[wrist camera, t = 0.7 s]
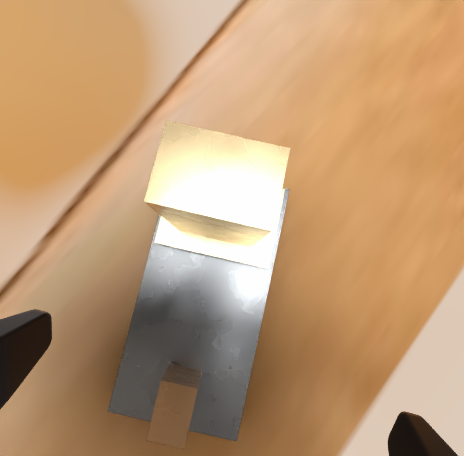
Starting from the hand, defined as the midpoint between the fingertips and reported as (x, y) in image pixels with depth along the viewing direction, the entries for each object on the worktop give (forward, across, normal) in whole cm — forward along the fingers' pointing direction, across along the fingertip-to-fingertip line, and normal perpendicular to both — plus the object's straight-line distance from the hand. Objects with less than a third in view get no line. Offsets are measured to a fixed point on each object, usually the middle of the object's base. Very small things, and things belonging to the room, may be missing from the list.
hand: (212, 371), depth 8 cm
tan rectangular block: (+13, +3, 0) cm, 14 cm away
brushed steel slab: (+13, +3, +6) cm, 14 cm away
